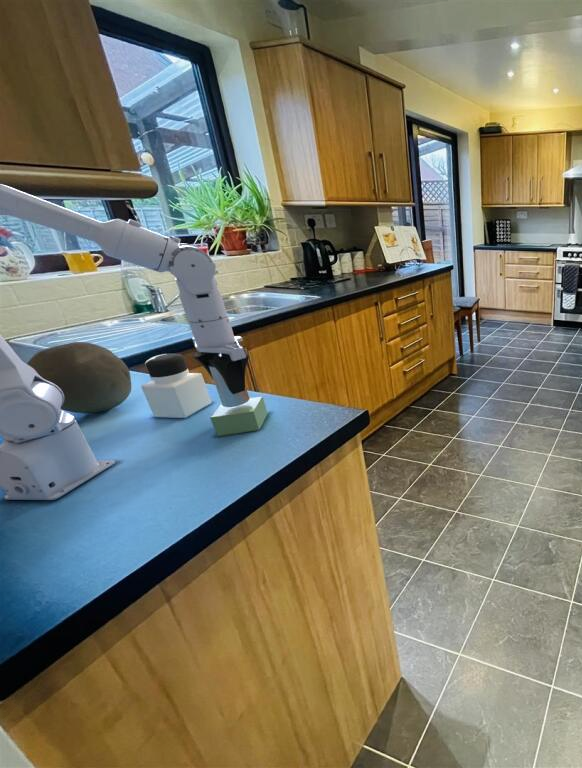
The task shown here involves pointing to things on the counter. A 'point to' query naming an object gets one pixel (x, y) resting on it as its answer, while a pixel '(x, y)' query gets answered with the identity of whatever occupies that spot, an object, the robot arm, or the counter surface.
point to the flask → (224, 392)
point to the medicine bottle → (174, 387)
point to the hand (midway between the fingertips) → (232, 389)
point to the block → (239, 417)
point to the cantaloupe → (84, 376)
